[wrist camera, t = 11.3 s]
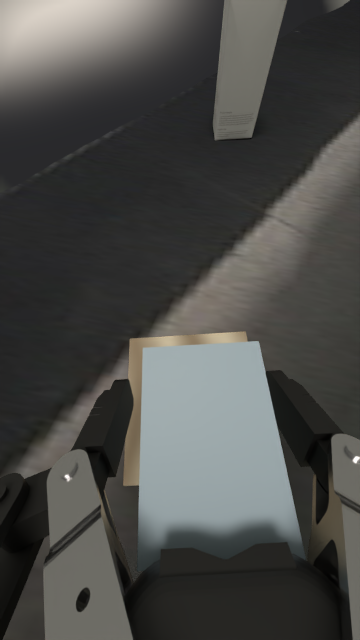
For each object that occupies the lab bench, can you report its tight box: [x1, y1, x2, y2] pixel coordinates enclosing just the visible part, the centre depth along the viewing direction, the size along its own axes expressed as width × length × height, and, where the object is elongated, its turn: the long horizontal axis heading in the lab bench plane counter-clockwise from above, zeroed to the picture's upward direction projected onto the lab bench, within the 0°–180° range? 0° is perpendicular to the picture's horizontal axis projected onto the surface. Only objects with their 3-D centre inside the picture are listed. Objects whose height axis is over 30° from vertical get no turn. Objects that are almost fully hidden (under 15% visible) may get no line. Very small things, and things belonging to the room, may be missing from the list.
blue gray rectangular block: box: [137, 341, 306, 571], centre depth 10 cm, size 4×6×10 cm
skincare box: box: [213, 0, 287, 140], centre depth 31 cm, size 8×7×16 cm
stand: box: [123, 332, 248, 486], centre depth 17 cm, size 14×14×5 cm
